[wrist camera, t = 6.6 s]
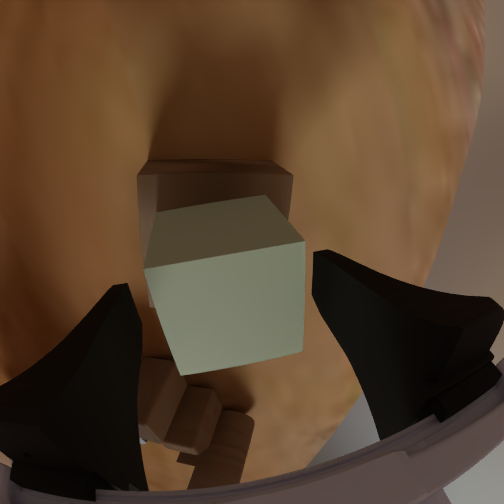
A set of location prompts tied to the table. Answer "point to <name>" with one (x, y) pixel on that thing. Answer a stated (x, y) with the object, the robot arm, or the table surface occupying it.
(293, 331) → the sage cube
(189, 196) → the walnut base
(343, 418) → the table surface
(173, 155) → the table surface
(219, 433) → the wooden block set
